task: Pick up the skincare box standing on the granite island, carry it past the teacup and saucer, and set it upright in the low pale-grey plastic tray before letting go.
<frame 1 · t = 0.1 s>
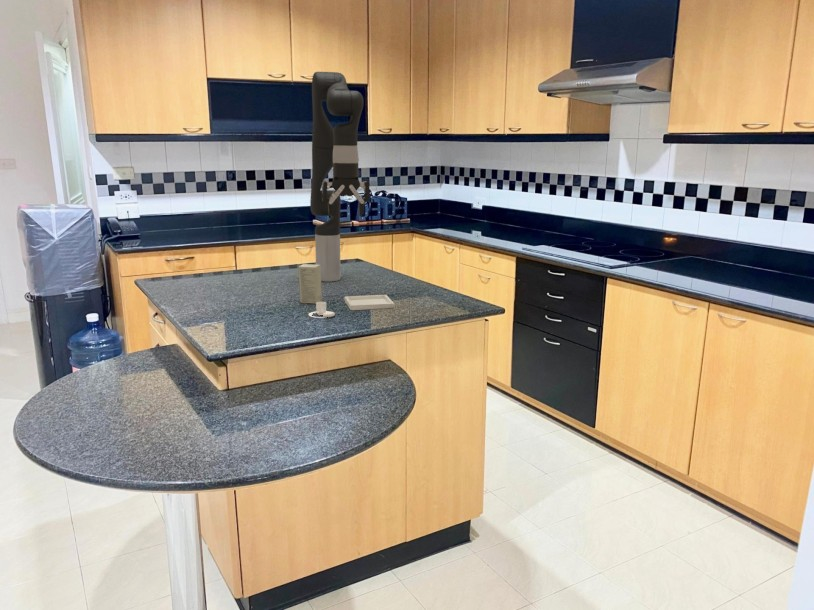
hand: (346, 216, 194), 29 cm above the countertop, fingers open, 8 cm apart
tray: (369, 304, 208), on the countertop
skincare box: (310, 302, 210), on the countertop
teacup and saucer: (317, 319, 193), on the countertop
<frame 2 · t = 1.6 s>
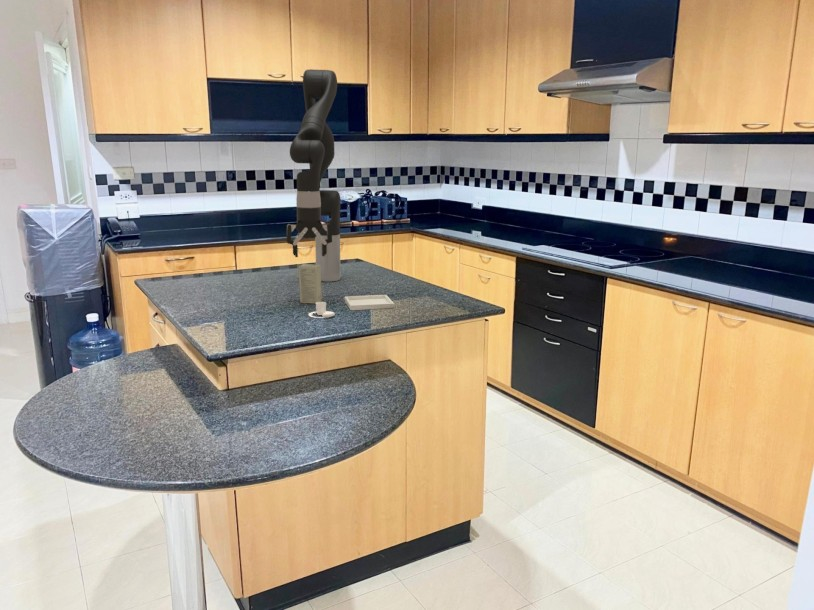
hand: (309, 256, 206), 15 cm above the countertop, fingers open, 8 cm apart
nothing on the countertop moved.
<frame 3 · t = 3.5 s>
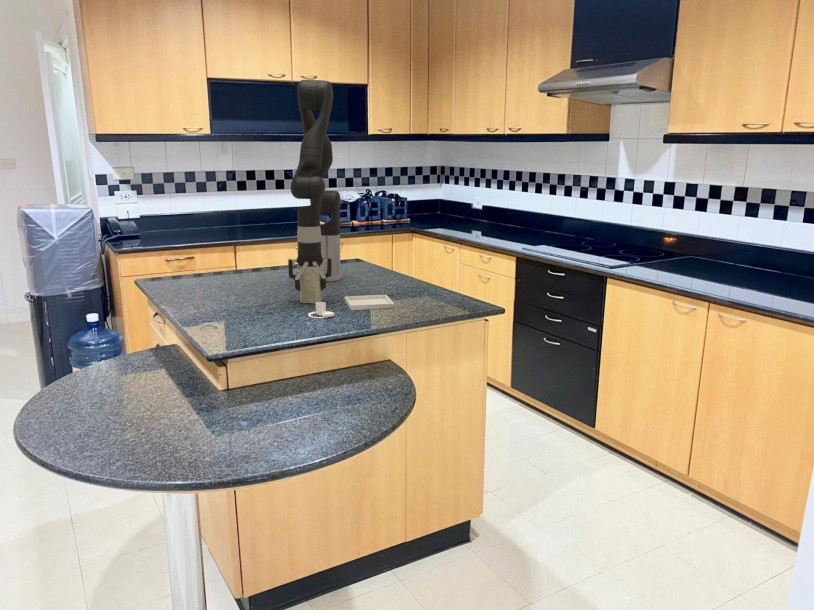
hand: (310, 290, 209), 4 cm above the countertop, fingers closed on skincare box, 7 cm apart
skincare box: (310, 302, 210), on the countertop, touching gripper
everything else where it was.
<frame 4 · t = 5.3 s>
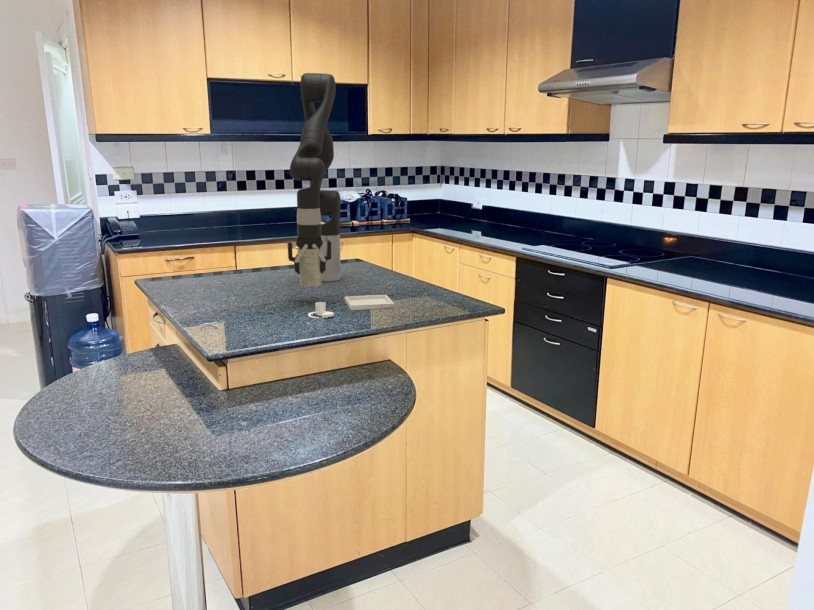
hand: (310, 273, 208), 10 cm above the countertop, fingers closed on skincare box, 7 cm apart
skincare box: (310, 285, 209), point 5 cm above the countertop, touching gripper
everything else where it was.
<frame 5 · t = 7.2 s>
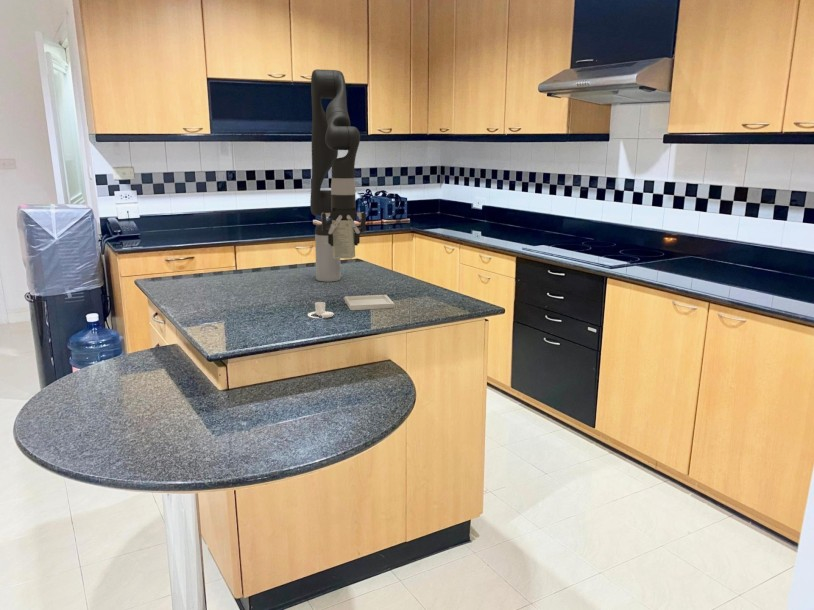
hand: (343, 245, 204), 19 cm above the countertop, fingers closed on skincare box, 7 cm apart
skincare box: (343, 258, 205), point 15 cm above the countertop, touching gripper
everything else where it was.
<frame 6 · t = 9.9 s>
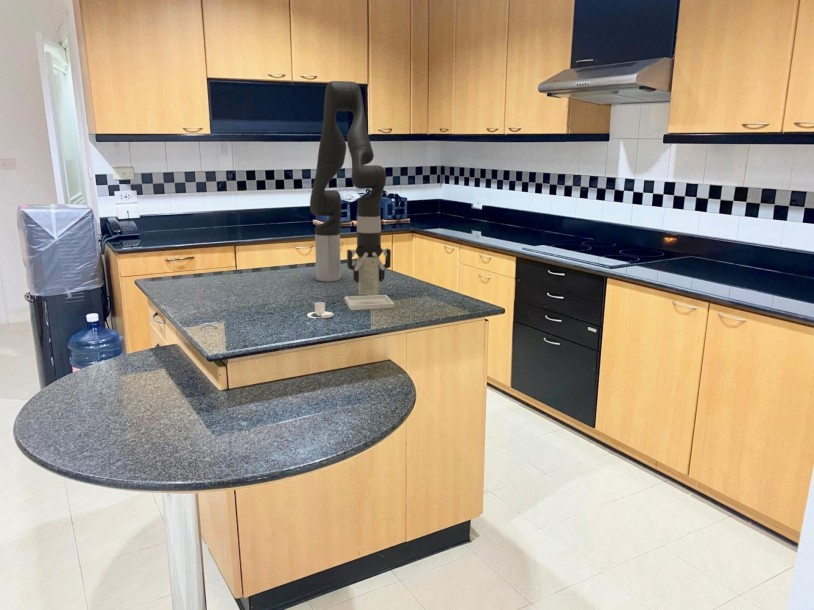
hand: (368, 281, 206), 8 cm above the countertop, fingers closed on skincare box, 7 cm apart
skincare box: (368, 293, 207), point 4 cm above the countertop, touching gripper
everything else where it was.
when the fingers open (6 cm above the countertop, at t = 11.4 s): skincare box drops 2 cm, resting on tray.
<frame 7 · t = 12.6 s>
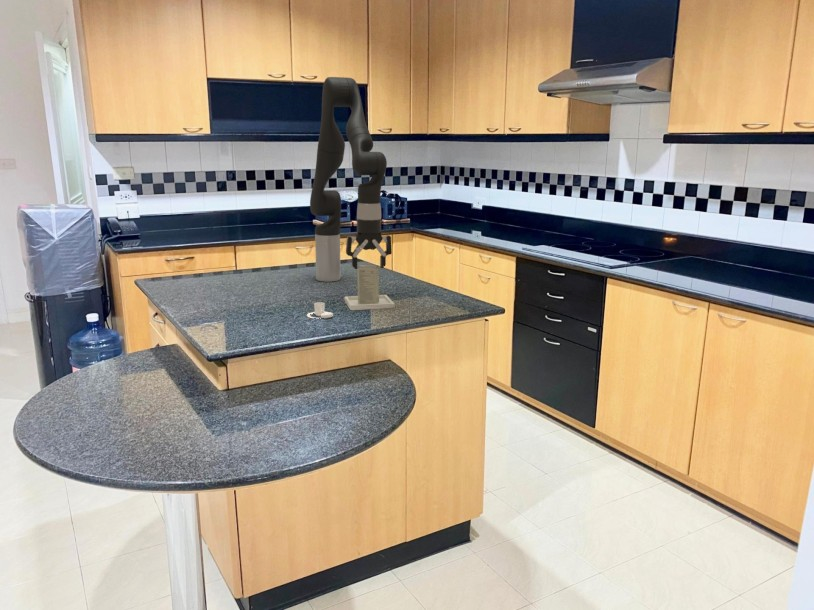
hand: (368, 268, 205), 12 cm above the countertop, fingers open, 8 cm apart
skincare box: (368, 303, 208), resting on tray
everything else where it was.
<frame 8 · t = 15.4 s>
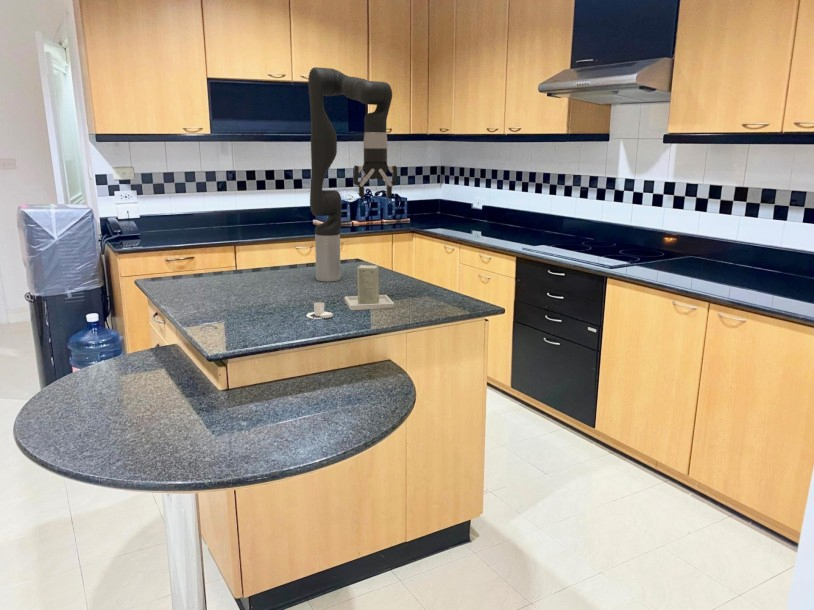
hand: (375, 198, 210), 33 cm above the countertop, fingers open, 8 cm apart
at the end: skincare box inside the target area on the tray (0.2 cm from its centre), point 0.2 cm above the tray's base; skincare box tilted 0°; the gripper is holding nothing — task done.
